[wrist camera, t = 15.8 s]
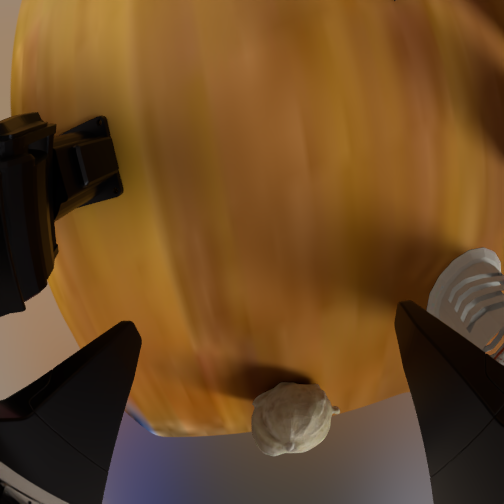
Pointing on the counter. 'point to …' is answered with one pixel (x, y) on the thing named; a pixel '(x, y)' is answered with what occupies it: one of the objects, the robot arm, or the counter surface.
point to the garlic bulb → (291, 418)
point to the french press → (472, 299)
